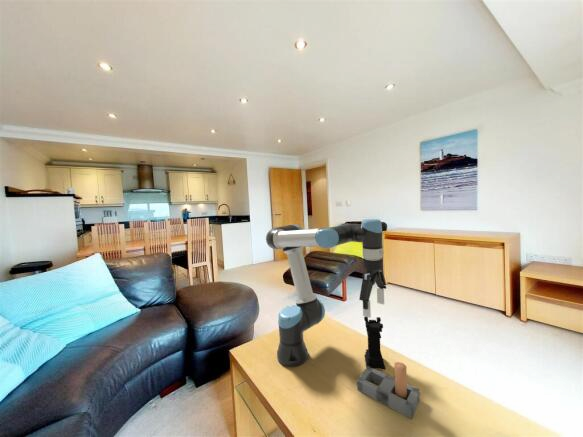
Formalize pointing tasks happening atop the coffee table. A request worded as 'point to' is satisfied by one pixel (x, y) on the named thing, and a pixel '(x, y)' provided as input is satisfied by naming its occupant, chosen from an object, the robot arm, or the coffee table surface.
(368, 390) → the socket board
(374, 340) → the chess piece
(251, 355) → the coffee table surface
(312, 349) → the coffee table surface
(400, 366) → the dowel
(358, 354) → the coffee table surface
